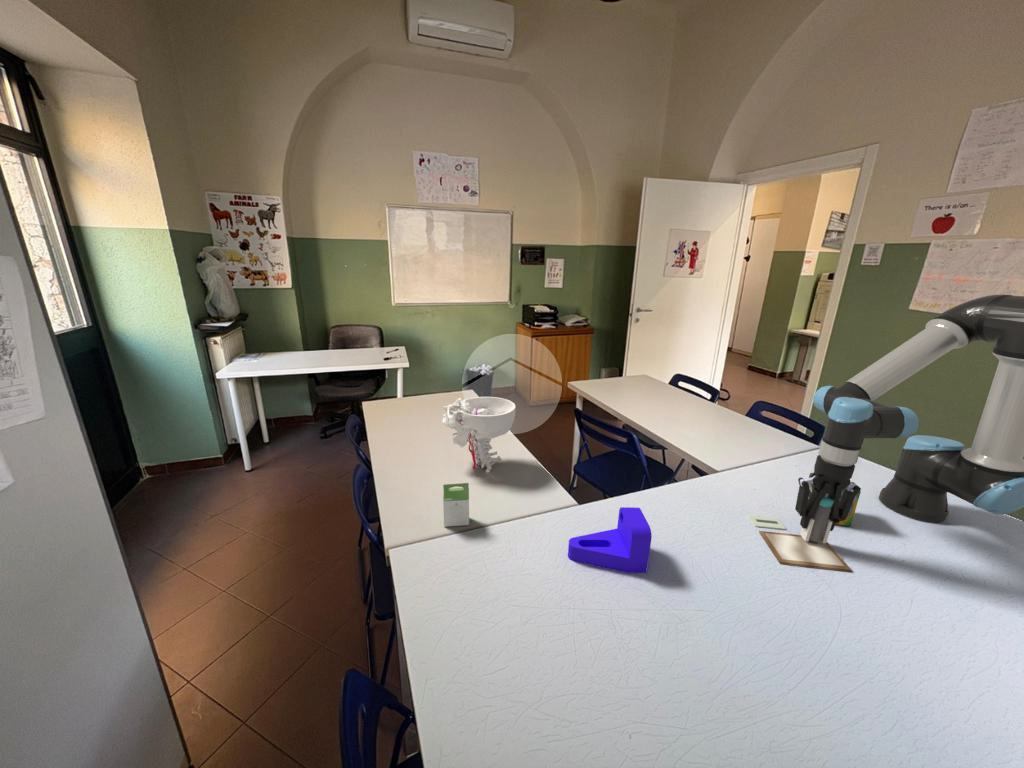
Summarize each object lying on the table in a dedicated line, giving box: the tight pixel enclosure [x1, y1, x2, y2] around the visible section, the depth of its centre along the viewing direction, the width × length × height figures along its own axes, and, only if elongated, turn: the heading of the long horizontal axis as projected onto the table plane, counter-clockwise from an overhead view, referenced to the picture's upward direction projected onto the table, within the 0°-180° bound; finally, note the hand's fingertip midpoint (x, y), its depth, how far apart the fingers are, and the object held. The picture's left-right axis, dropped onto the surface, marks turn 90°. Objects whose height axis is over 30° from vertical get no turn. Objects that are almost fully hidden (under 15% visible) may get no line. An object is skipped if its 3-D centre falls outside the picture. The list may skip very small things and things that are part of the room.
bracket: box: [567, 506, 652, 574], centre depth 99 cm, size 18×11×12 cm, turn 91°
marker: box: [809, 494, 834, 544], centre depth 104 cm, size 4×4×13 cm
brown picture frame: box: [758, 530, 853, 573], centre depth 104 cm, size 16×12×1 cm
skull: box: [441, 396, 517, 473], centre depth 139 cm, size 25×19×23 cm
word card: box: [747, 514, 787, 531], centre depth 115 cm, size 8×5×1 cm, turn 81°
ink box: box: [442, 482, 470, 528], centre depth 111 cm, size 7×4×13 cm, turn 97°
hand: (812, 538), depth 106 cm, fingers closed on marker, 4 cm apart
